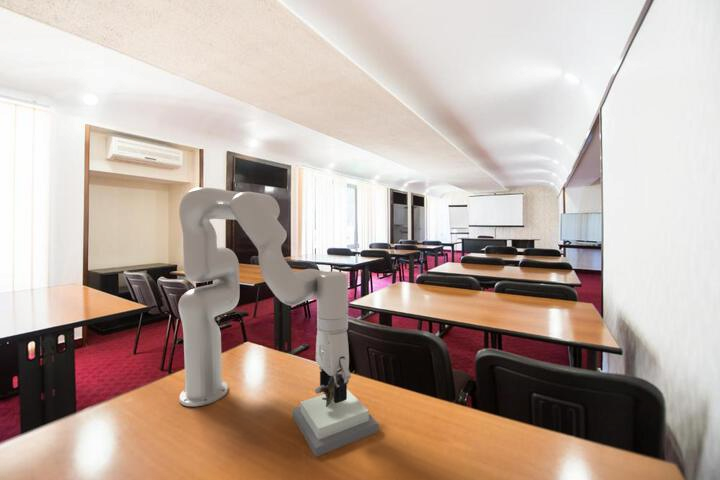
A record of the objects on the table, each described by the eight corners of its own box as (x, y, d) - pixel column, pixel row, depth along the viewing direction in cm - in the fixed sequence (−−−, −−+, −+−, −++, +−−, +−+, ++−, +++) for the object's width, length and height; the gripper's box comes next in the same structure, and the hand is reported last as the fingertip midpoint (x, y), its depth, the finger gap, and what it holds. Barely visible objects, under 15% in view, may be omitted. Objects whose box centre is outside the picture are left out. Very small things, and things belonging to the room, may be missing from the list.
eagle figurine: (350, 404, 72) (353, 378, 81) (333, 382, 71) (338, 358, 80) (324, 417, 74) (330, 390, 82) (307, 395, 72) (315, 371, 81)
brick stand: (292, 418, 78) (292, 399, 78) (347, 400, 86) (347, 383, 86) (315, 459, 64) (315, 436, 64) (378, 433, 72) (378, 413, 72)
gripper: (305, 315, 80) (306, 381, 80) (334, 336, 65) (334, 417, 65) (331, 311, 83) (331, 374, 84) (364, 330, 68) (364, 406, 69)
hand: (332, 392), depth 75 cm, fingers closed on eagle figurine, 7 cm apart
